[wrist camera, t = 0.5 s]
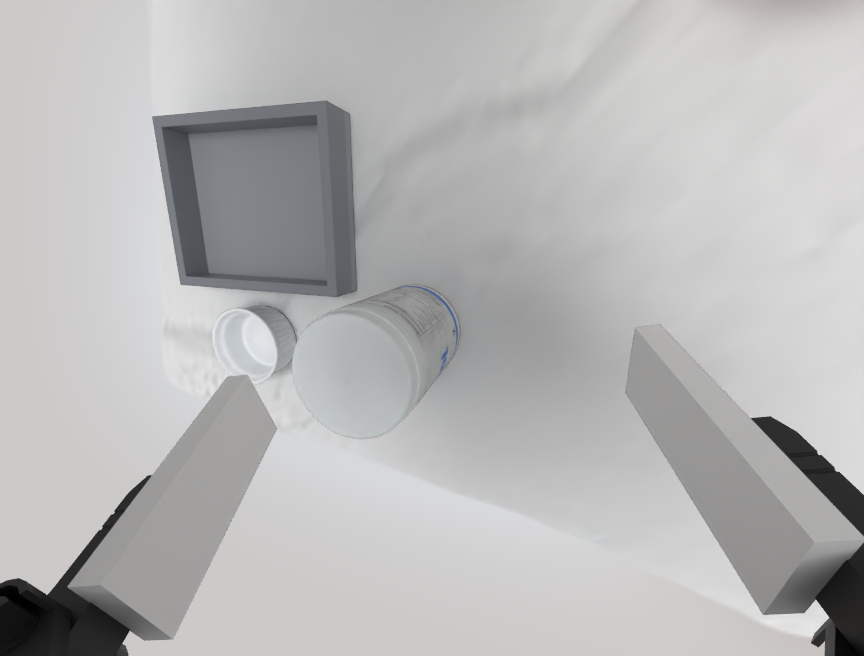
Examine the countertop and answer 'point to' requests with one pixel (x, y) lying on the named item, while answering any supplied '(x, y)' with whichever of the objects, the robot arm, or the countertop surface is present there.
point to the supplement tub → (374, 359)
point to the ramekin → (253, 342)
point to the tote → (261, 197)
